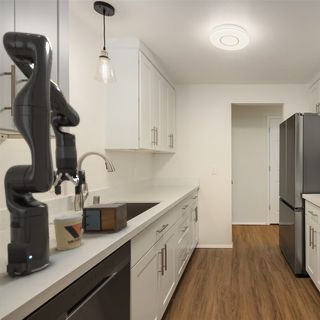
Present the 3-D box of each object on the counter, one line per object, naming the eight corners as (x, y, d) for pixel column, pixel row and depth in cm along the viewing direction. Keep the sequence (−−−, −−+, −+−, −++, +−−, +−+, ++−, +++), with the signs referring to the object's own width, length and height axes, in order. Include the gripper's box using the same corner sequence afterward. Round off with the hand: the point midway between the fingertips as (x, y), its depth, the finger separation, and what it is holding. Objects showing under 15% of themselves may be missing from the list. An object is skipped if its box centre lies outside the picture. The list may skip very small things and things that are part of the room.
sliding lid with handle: (94, 232, 108) (94, 212, 108) (80, 232, 108) (79, 212, 108) (100, 229, 112) (100, 209, 112) (86, 229, 112) (86, 210, 112)
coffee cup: (68, 251, 89) (67, 219, 89) (48, 250, 91) (47, 219, 91) (88, 242, 98) (88, 214, 98) (70, 241, 100) (69, 213, 100)
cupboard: (116, 232, 111) (116, 207, 111) (83, 233, 112) (82, 207, 111) (127, 226, 121) (126, 203, 121) (96, 227, 122) (95, 203, 121)
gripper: (42, 157, 98) (44, 196, 98) (76, 156, 97) (78, 195, 98) (57, 157, 105) (58, 193, 106) (88, 156, 105) (90, 192, 105)
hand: (68, 194), depth 102 cm, fingers open, 8 cm apart
